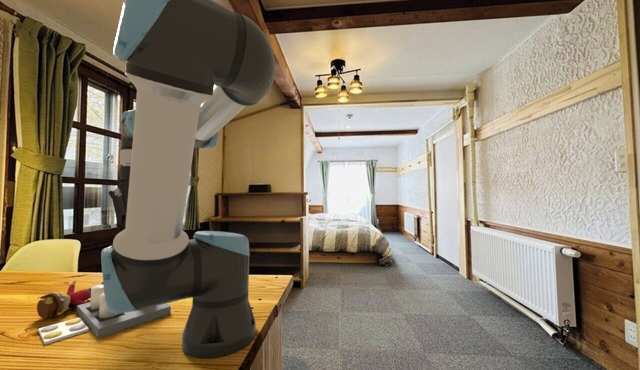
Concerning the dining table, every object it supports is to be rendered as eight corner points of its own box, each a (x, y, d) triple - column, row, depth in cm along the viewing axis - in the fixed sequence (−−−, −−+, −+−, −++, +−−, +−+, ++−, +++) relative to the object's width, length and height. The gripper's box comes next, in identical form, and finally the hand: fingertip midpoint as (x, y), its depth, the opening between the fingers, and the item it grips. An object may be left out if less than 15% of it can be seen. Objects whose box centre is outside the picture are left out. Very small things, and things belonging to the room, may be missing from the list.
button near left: (122, 313, 64) (123, 292, 64) (101, 319, 61) (102, 297, 61) (117, 309, 66) (118, 289, 66) (97, 314, 63) (98, 293, 63)
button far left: (112, 305, 69) (113, 286, 69) (92, 310, 65) (93, 290, 66) (107, 301, 71) (108, 282, 71) (88, 306, 68) (89, 286, 68)
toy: (121, 289, 77) (58, 314, 63) (112, 307, 78) (49, 335, 64) (98, 266, 80) (32, 285, 65) (90, 284, 81) (23, 306, 66)
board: (170, 313, 69) (170, 306, 69) (98, 338, 57) (98, 328, 57) (141, 296, 81) (141, 289, 81) (76, 313, 69) (77, 305, 69)
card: (88, 331, 60) (88, 327, 60) (44, 344, 54) (44, 341, 54) (79, 319, 65) (79, 316, 65) (38, 331, 60) (38, 327, 60)
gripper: (166, 168, 78) (164, 247, 77) (120, 168, 77) (117, 248, 76) (154, 165, 71) (151, 252, 70) (102, 164, 69) (98, 253, 68)
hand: (133, 250), depth 73 cm, fingers closed
